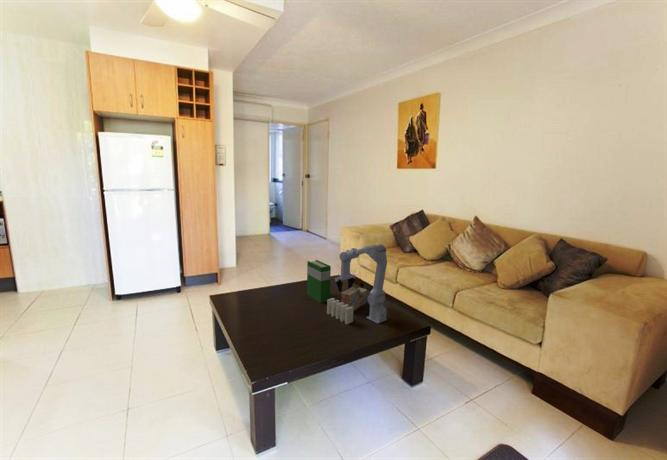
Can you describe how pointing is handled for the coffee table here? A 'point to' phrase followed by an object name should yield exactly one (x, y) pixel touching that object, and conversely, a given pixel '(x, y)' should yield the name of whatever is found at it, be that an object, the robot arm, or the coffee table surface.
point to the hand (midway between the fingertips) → (344, 290)
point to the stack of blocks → (354, 297)
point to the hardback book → (318, 280)
